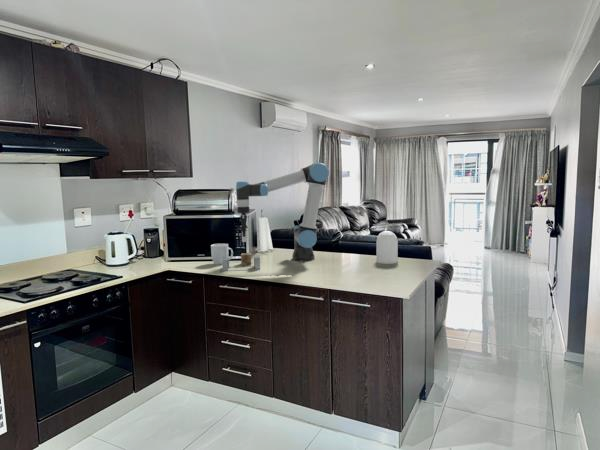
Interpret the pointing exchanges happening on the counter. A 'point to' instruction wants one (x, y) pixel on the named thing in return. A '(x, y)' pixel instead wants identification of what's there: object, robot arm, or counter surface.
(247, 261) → the block
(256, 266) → the free jaw
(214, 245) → the mug
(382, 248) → the container
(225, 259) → the fixed jaw
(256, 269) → the vise base
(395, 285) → the counter surface
